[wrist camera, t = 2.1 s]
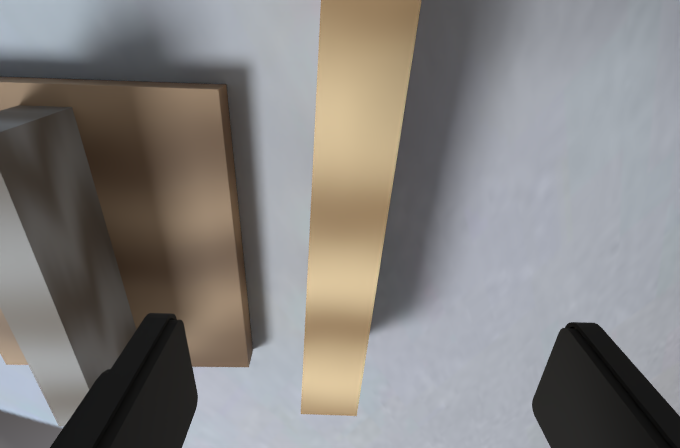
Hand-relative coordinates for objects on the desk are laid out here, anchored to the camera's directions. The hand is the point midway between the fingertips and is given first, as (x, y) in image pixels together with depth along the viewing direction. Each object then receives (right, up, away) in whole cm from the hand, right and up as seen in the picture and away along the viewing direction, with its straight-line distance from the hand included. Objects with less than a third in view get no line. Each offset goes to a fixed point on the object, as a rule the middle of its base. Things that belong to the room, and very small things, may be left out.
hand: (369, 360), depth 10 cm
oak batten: (0, +7, +11) cm, 13 cm away
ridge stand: (-15, +3, +13) cm, 20 cm away
